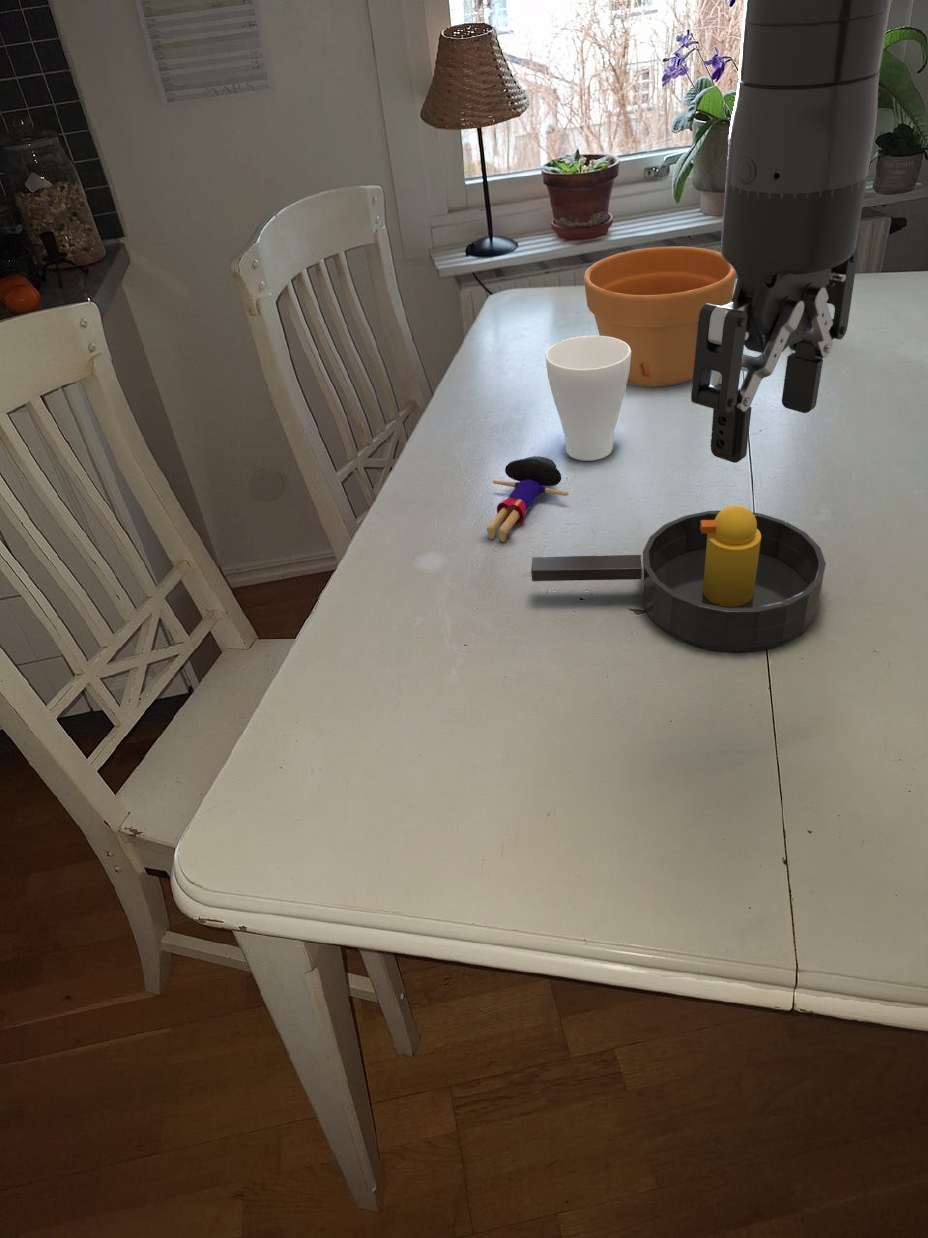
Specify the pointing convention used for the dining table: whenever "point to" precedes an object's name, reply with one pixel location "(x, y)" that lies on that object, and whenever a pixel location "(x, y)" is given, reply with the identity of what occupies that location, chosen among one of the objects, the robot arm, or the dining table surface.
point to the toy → (524, 491)
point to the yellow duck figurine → (731, 556)
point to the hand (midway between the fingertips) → (764, 432)
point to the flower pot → (657, 306)
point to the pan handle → (586, 568)
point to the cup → (588, 391)
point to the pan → (760, 624)
